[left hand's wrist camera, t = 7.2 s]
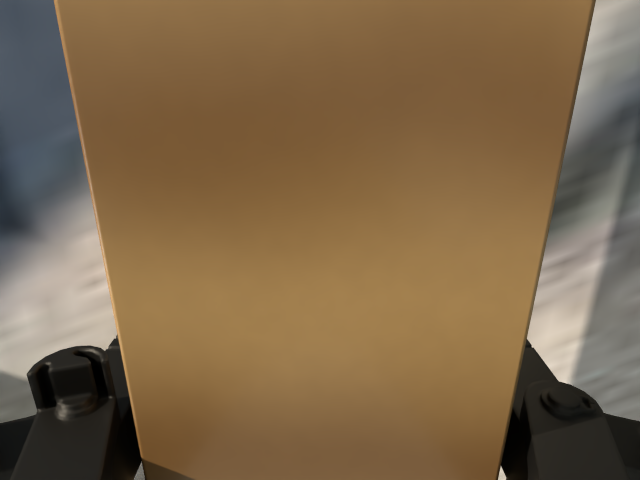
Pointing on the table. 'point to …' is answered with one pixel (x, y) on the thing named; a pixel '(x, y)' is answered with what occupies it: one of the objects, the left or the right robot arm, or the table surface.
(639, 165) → the table surface
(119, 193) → the post
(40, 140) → the table surface
